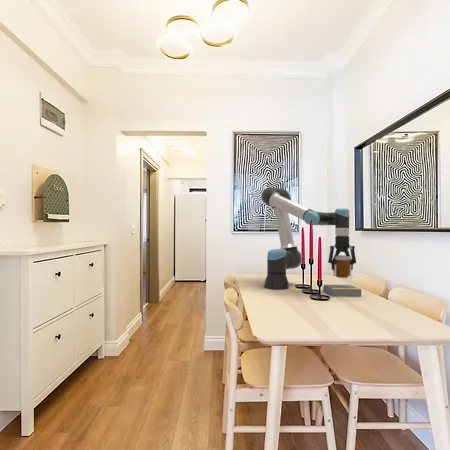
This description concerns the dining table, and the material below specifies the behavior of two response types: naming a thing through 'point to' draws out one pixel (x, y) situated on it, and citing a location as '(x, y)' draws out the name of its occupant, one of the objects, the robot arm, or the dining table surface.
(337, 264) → the disposable coffee cup
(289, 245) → the robot arm
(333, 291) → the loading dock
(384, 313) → the dining table surface
